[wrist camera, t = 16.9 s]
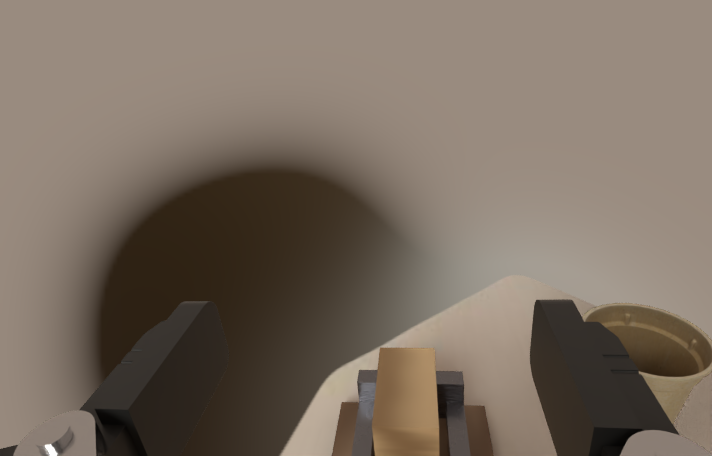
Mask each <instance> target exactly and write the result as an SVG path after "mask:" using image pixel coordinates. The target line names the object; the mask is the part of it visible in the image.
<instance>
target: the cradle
mask: <svg viewBox="0 0 712 456" xmlns="http://www.w3.org/2000/svg"><path fill="white" fill-rule="evenodd" d="M377 372H378V370H359V375H358V381H357V384H358V393H359V403H350V402H342V404H341V410H340V415H339V420H338V426H337V431H336V437H335V442H334V447H333V453H332V456H375V451H374V441H373V432H372V420H373V410H374V401H375V391H376V382H377ZM436 385H437V402H438V419H439V456H493V450H492V445H491V440H490V434H489V429H488V423H487V418H486V412H485V407H484V406H464V382H463V374H462V372H455V371H436Z"/></svg>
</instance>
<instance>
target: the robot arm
mask: <svg viewBox="0 0 712 456" xmlns="http://www.w3.org/2000/svg"><path fill="white" fill-rule="evenodd" d="M228 354H229V353H228V346H227V342H226V339H225V335H224V332H223V328H222V325H221V321H220V317H219V314H218V310H217V307H216V305H215V304H214V303H213V302H182V303H181V304H180V305H179V306H178V307H177V308H176V309H175V311H174V312H173V313H172V314H171V316H170V317H169V318H168V319H167V321H162V322H161V323H159V324H158V325H156V326H155V327H153V328H152V329H151V330H149V331H148V332H146V333H145V334H144V335H143V336H142V337H141V338H140V340H139V341H138V342H137V343H136V344H135V345H134V347H133V348H132V351H131V352H129V353H128V354H127V355H126V356H125V357H124V358H123V360H122V361H121V364H118V365H117V367H116V368H115V369H114V370H113V371H112V372H111V374H110V375H109V376H108V377H107V378H106V379H105V381H104V382H103V383H102V384H101V385H100V387H99V388H98V389H97V390H96V391H95V392H94V393H93V395H92V396H91V397H90V398H89V399H88V400H87V402H86V403H85V404H84V405H83V407H81V409H80V410H76V411H69V412H65V413H62V414H59V415H56V416H54V417H52V418H50V419H48V420H46V421H45V422H43V423H42V424H40V425H38V426H37V427H36V428H34V429H33V430H32V431H31V432H30V433H29V434H27V435H26V436H25V437H24V439H23V440H22V441H21V442H20V443H19V445H16V446H11V447H7V448H3V449H0V456H180V455H181V453H182V451H183V449H184V448H185V446H186V444H187V442H188V440H189V438H190V436H191V435H192V433H193V431H194V429H195V427H196V425H197V423H198V422H199V420H200V418H201V416H202V414H203V412H204V410H205V409H206V407H207V405H208V403H209V401H210V399H211V397H212V396H213V393H214V392H215V390H216V388H217V386H218V384H219V383H220V381H221V379H222V377H223V375H224V373H225V371H226V368H227V364H228V357H229V356H228ZM530 364H531V371H532V376H533V380H534V383H535V386H536V389H537V393H538V396H539V399H540V402H541V405H542V408H543V411H544V415H545V418H546V421H547V424H548V427H549V430H550V433H551V436H552V440H553V443H554V446H555V449H556V452H557V455H558V456H712V454H711V453H709V452H708V451H707V450H705V449H704V448H703V447H701V446H700V445H698V444H696V443H695V442H693V441H691V440H689V439H687V438H685V437H682V436H680V435H679V434H678V432H677V431H676V429H675V427H674V426H673V424H672V423H671V421H670V419H669V418H668V416H667V415H666V413H665V411H664V410H663V408H662V407H661V405H660V403H659V402H658V400H657V399H656V397H655V395H654V394H653V392H652V391H651V389H650V387H649V386H648V384H647V383H646V381H645V379H644V378H643V376H642V375H641V374H639V370H638V368H637V367H636V365H635V363H634V362H633V360H632V359H630V358H629V354H628V352H627V351H626V349H625V347H624V346H623V344H622V343H621V341H620V339H619V338H618V337H617V336H616V335H615V334H614V333H612V332H611V331H610V330H608V329H607V328H606V327H605V326H603V325H602V324H601V323H600V322H584V320H583V319H582V317H581V315H580V313H579V311H578V309H577V308H576V306H575V304H574V302H573V301H572V300H536V302H535V305H534V314H533V325H532V336H531V347H530Z"/></svg>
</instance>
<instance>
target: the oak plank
mask: <svg viewBox="0 0 712 456" xmlns="http://www.w3.org/2000/svg"><path fill="white" fill-rule="evenodd" d="M372 432H373V441H374V451H375V456H439V419H438V402H437V385H436V368H435V351H434V348H380V353H379V363H378V372H377V382H376V391H375V401H374V410H373V420H372Z"/></svg>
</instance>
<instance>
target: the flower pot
mask: <svg viewBox="0 0 712 456" xmlns="http://www.w3.org/2000/svg"><path fill="white" fill-rule="evenodd" d="M582 319H583V320H584V322H600V323H601V324H602V325H603V326H605V327H606V328H607V329H608V330H610V331H611V332H612V333H614V334H615V335H616V336H617V337H618V338H619V339H620V341H621V343H622V344H623V346H624V347H625V349H626V351H627V352H628V354H629V358H630V359H632V360H633V362H634V363H635V365H636V367H637V368H638V370H639V374H641V375H642V376H643V378H644V379H645V381H646V383H647V384H648V386H649V387H650V389H651V391H652V392H653V394H654V395H655V397H656V399H657V400H658V402H659V403H660V405H661V407H662V408H663V410H664V411H665V413H666V415H667V416H668V418H669V419H670V421H671V423H672V424H673V423H674V421H675V419H676V417H677V415H678V414H679V412H680V410H681V408H682V406H683V405H684V403H685V401H686V399H687V397H688V396H689V394H690V392H691V390H692V388H693V387H694V386H695V385H696V384H698V383H699V382H700V381H701V380H702V378H703V377H706V376H707V375H709V374H710V373H711V372H712V340H711V339H710V338H709V337H708V335H707V334H706V333H704V332H703V331H702V330H701V329H699V328H698V327H697V326H695V325H694V324H692V323H691V322H689V321H688V320H685V319H684V318H681V317H679V316H678V315H675V314H672V313H670V312H667V311H665V310H662V309H658V308H654V307H650V306H645V305H639V304H631V303H614V304H606V305H601V306H598V307H595V308H592V309H591V310H589V311H587V312H586V313H585V314H584V316H583V317H582Z"/></svg>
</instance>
